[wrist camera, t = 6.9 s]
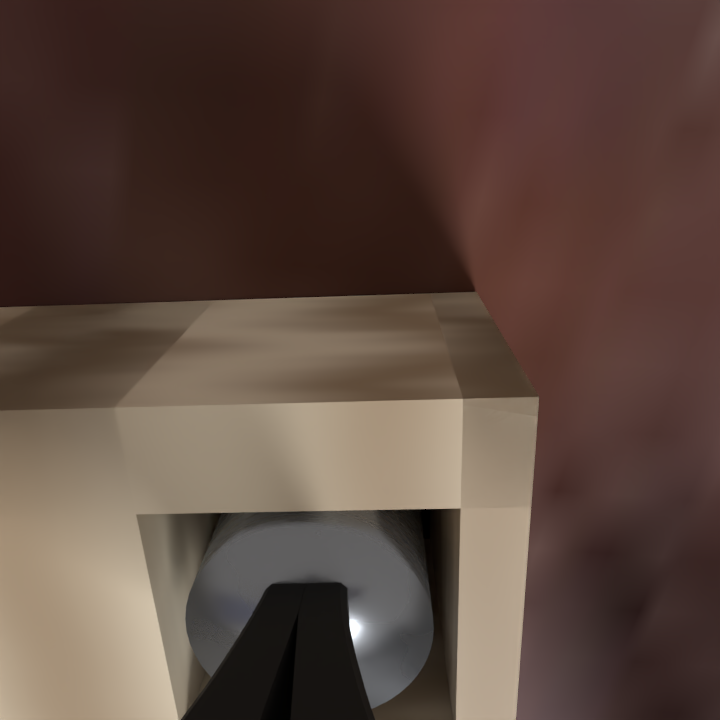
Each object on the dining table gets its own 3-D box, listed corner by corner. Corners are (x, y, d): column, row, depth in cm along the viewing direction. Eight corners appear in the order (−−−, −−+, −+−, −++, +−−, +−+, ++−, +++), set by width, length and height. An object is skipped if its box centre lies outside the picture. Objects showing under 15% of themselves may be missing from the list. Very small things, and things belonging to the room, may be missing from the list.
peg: (257, 535, 17) (203, 719, 12) (239, 390, 15) (167, 528, 10) (415, 532, 17) (433, 718, 11) (414, 386, 15) (434, 524, 10)
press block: (-97, 599, 18) (-306, 807, 13) (-210, 314, 15) (-557, 425, 9) (467, 592, 18) (509, 808, 12) (476, 291, 14) (539, 397, 9)
